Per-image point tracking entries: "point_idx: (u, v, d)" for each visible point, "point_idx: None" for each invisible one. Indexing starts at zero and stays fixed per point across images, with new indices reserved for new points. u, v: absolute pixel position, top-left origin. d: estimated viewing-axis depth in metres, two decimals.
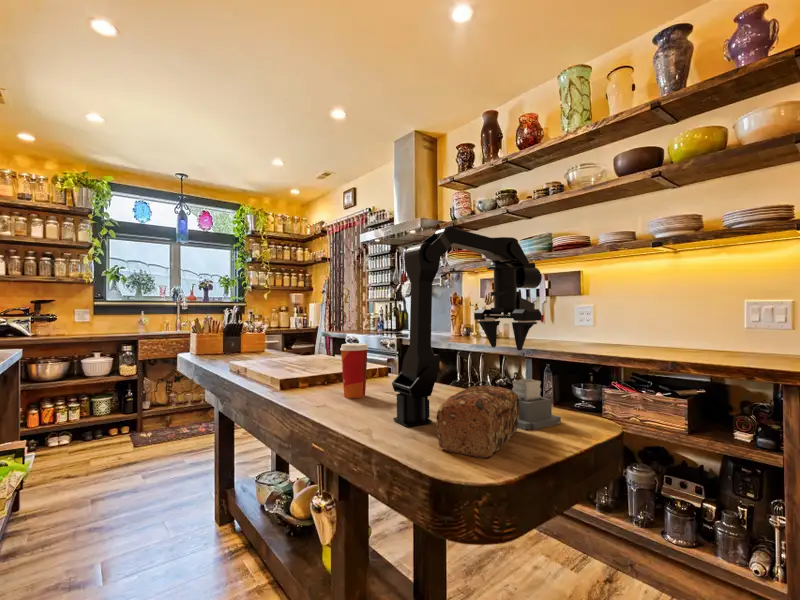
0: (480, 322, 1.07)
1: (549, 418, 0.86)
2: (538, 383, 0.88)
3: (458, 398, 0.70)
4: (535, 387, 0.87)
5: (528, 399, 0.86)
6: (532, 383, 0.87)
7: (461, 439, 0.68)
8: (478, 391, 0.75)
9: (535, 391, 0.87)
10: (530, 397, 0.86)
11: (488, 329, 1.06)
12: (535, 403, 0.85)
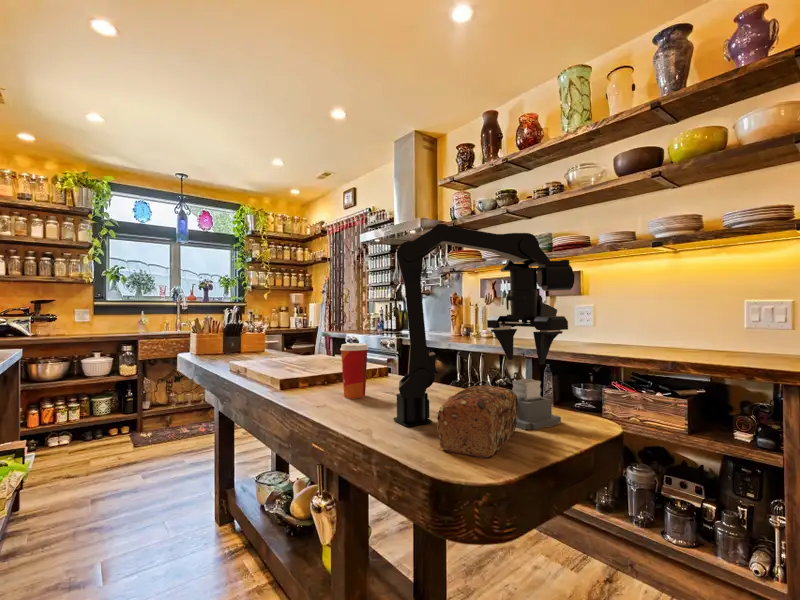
0: (494, 331, 0.93)
1: (549, 418, 0.86)
2: (538, 383, 0.88)
3: (459, 398, 0.70)
4: (535, 387, 0.87)
5: (528, 399, 0.86)
6: (532, 383, 0.87)
7: (462, 439, 0.68)
8: (478, 391, 0.75)
9: (535, 391, 0.87)
10: (530, 397, 0.86)
11: (503, 339, 0.93)
12: (535, 403, 0.85)
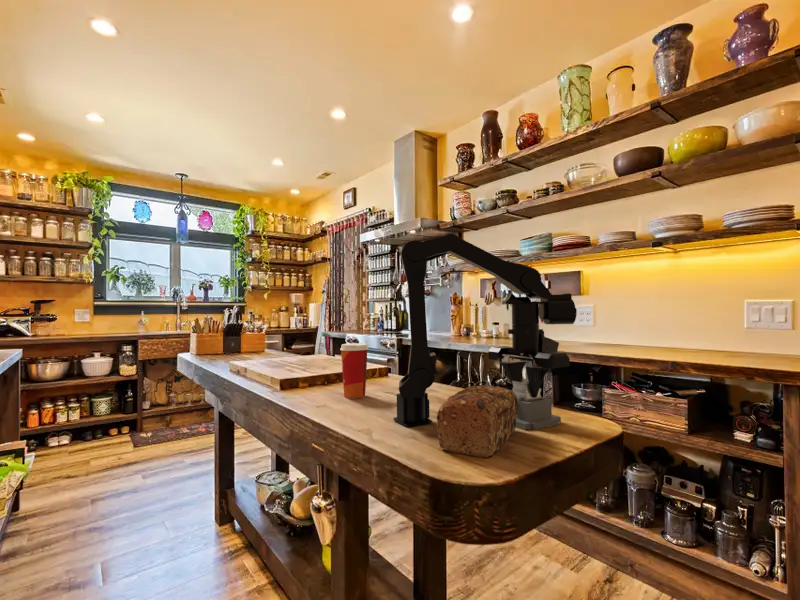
0: (503, 364, 0.91)
1: (549, 418, 0.86)
2: None
3: (459, 398, 0.70)
4: None
5: (528, 399, 0.86)
6: None
7: (462, 439, 0.69)
8: (478, 391, 0.75)
9: None
10: (530, 397, 0.86)
11: (512, 372, 0.90)
12: (535, 403, 0.85)
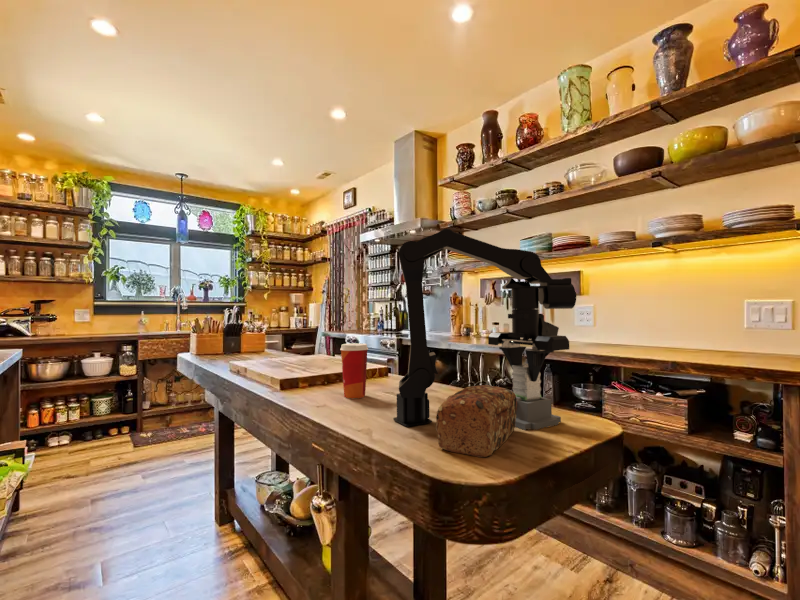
0: (503, 349, 0.91)
1: (549, 418, 0.86)
2: None
3: (458, 398, 0.70)
4: None
5: (528, 383, 0.86)
6: None
7: (461, 439, 0.69)
8: (477, 391, 0.75)
9: None
10: (530, 381, 0.86)
11: (512, 357, 0.90)
12: (535, 403, 0.85)
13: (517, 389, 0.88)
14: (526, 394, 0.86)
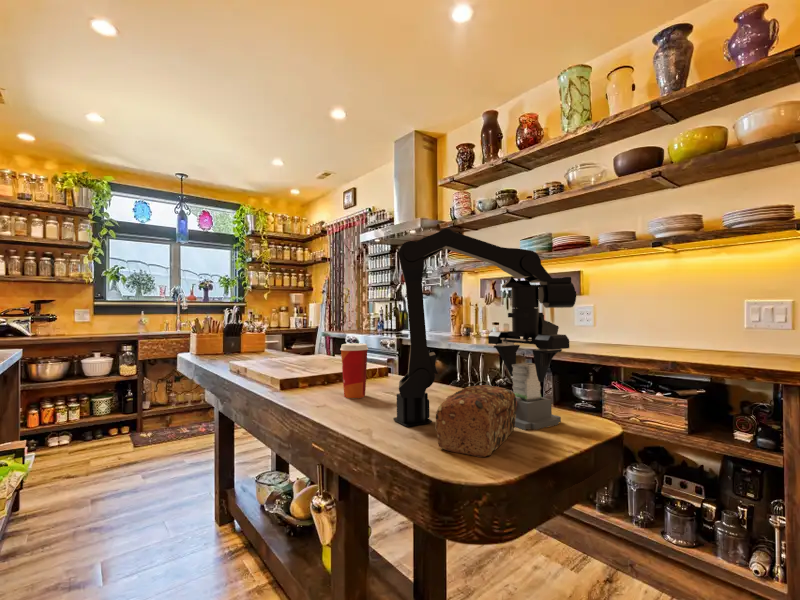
0: (497, 347, 0.92)
1: (549, 418, 0.86)
2: None
3: (457, 398, 0.70)
4: (535, 370, 0.87)
5: (528, 382, 0.86)
6: (532, 366, 0.87)
7: (460, 438, 0.69)
8: (476, 391, 0.75)
9: (535, 374, 0.87)
10: (530, 380, 0.86)
11: (506, 355, 0.92)
12: (535, 403, 0.85)
13: (517, 388, 0.88)
14: (526, 393, 0.86)
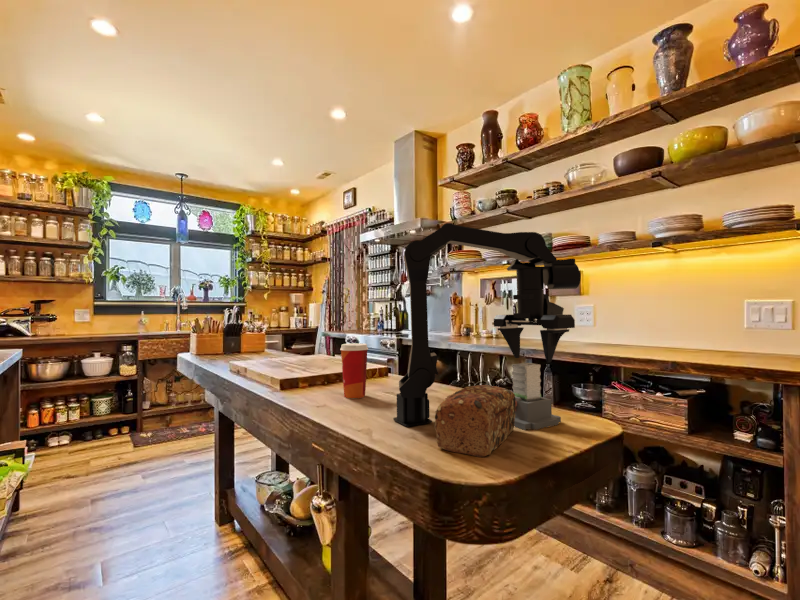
0: (501, 329, 0.94)
1: (549, 418, 0.86)
2: (538, 366, 0.88)
3: (456, 397, 0.71)
4: (535, 370, 0.87)
5: (528, 382, 0.86)
6: (532, 366, 0.87)
7: (460, 438, 0.69)
8: (476, 390, 0.75)
9: (535, 374, 0.87)
10: (530, 380, 0.86)
11: (510, 337, 0.93)
12: (535, 403, 0.85)
13: (517, 388, 0.88)
14: (526, 393, 0.86)
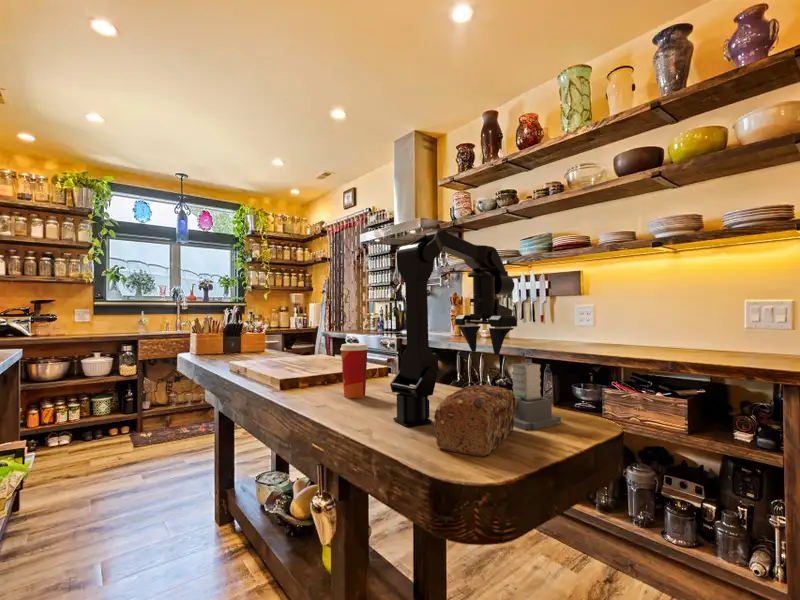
0: (461, 327, 1.11)
1: (549, 418, 0.86)
2: (538, 366, 0.88)
3: (456, 397, 0.71)
4: (535, 370, 0.87)
5: (528, 382, 0.86)
6: (532, 366, 0.87)
7: (459, 438, 0.69)
8: (475, 390, 0.75)
9: (535, 374, 0.87)
10: (530, 380, 0.86)
11: (468, 334, 1.10)
12: (535, 403, 0.85)
13: (517, 388, 0.88)
14: (526, 393, 0.86)
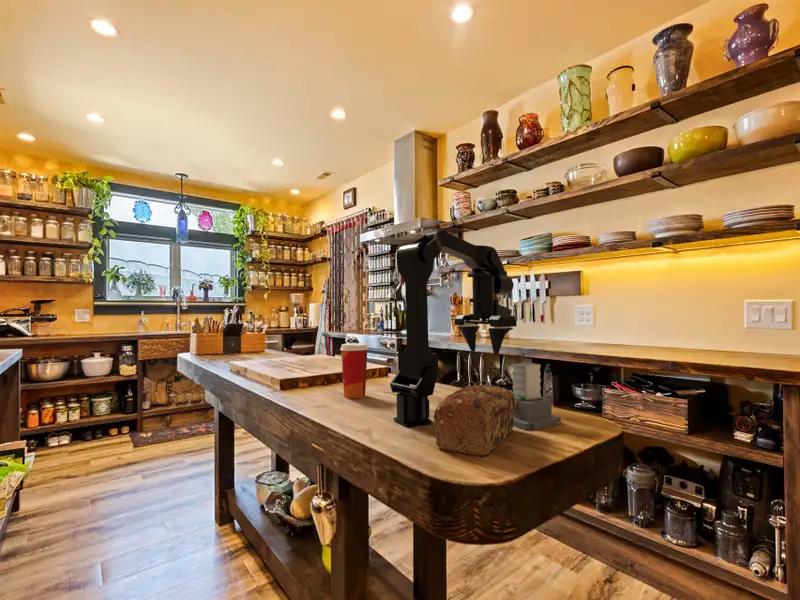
0: (460, 327, 1.11)
1: (549, 418, 0.86)
2: (538, 366, 0.88)
3: (455, 397, 0.71)
4: (535, 370, 0.87)
5: (528, 382, 0.86)
6: (532, 366, 0.87)
7: (458, 438, 0.69)
8: (475, 390, 0.76)
9: (535, 374, 0.87)
10: (530, 380, 0.86)
11: (467, 334, 1.11)
12: (535, 403, 0.85)
13: (517, 388, 0.88)
14: (526, 393, 0.86)
